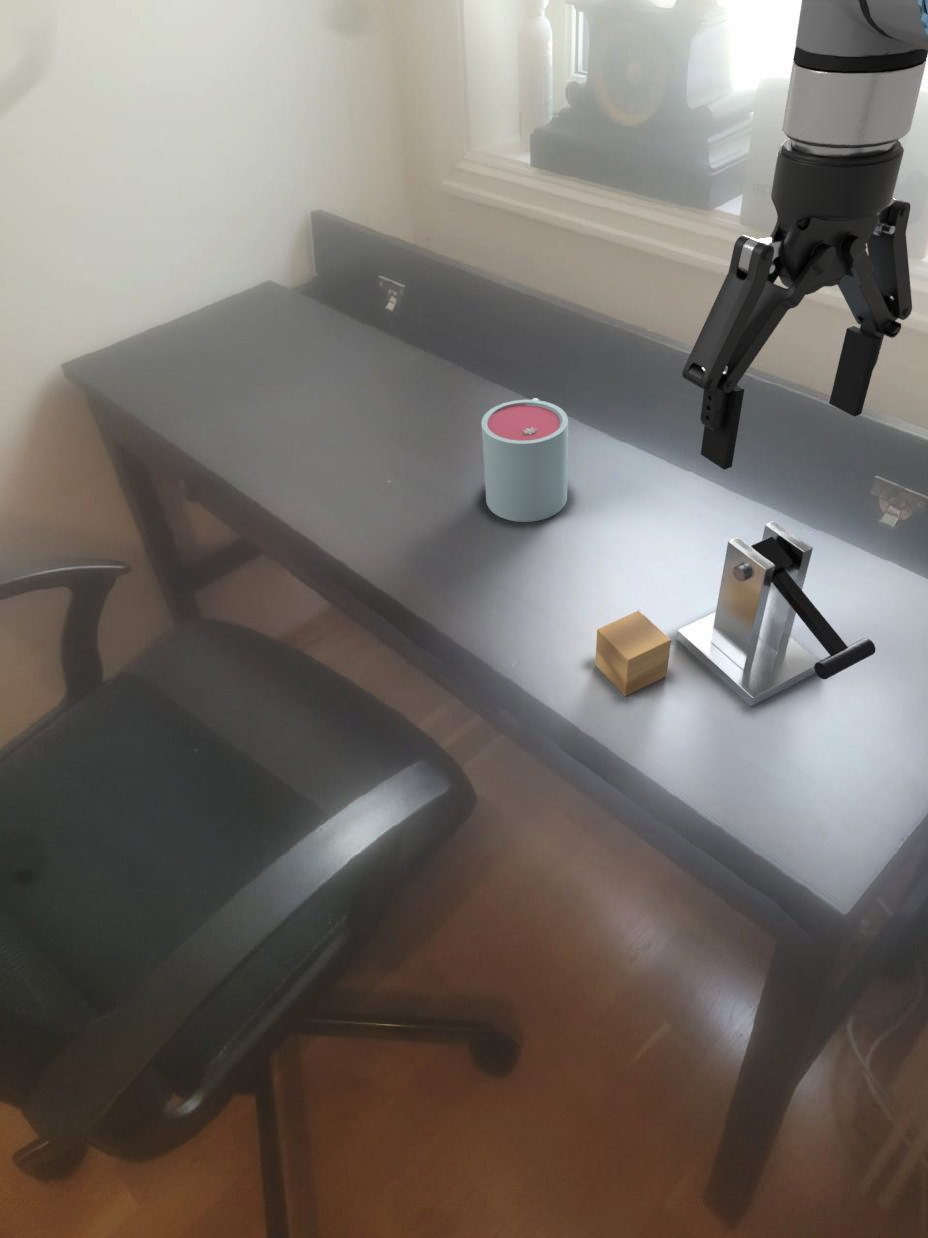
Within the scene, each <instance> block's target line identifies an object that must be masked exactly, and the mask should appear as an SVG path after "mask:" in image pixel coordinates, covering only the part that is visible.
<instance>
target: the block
mask: <svg viewBox="0 0 928 1238" xmlns="http://www.w3.org/2000/svg"><path fill="white" fill-rule="evenodd" d="M595 642H596V645H595V662H594V663H595V667H597V668H598V670H599V671H600V672H601V673H602V674H603V675H604V676H605V677H606V678H607V680H609V682H611V683H612V684H613V685H614V687H616V689H618V691H619V692H620V693H622V695H623V696H624V697H627V696H629V695H632V694H633V693H635V692H637V691H639V690H641V689H643V688H645V687H647V686H649V685H652V684H653V683H655V682H658V681H660V680H662V679H663V678H665V677H667V675H668V669H669V660H670V652H671V646H672V639H671V638H670V637H669V636H668V635H667V634H665V632H663V631H662V630H661V629H660V628H659V627H658V626H657V625H656V624H655V623H654V622H652V621H651V620H650V619H649V618H648V617H647V616H646V615H645V614H644V613H643V612H642V611H640V610H636V611H634V612H632V613H630V614H628V615H626V616H623V617H621V618H619V619H617V620H615V621H612V622H610V623H608V624H606V625H603V626H601V627H599V628H597V629H596V641H595Z"/></svg>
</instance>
